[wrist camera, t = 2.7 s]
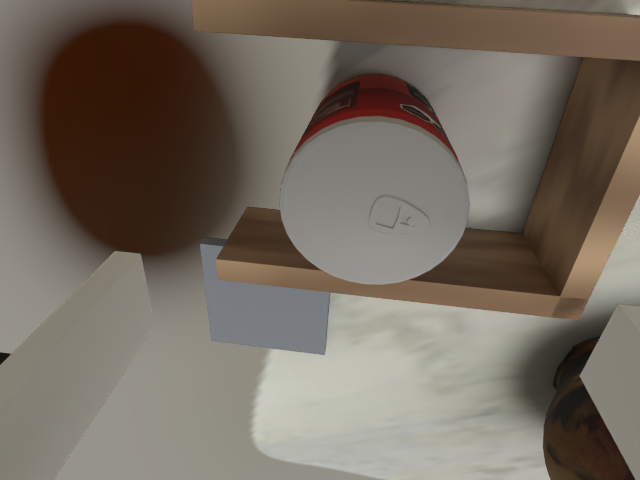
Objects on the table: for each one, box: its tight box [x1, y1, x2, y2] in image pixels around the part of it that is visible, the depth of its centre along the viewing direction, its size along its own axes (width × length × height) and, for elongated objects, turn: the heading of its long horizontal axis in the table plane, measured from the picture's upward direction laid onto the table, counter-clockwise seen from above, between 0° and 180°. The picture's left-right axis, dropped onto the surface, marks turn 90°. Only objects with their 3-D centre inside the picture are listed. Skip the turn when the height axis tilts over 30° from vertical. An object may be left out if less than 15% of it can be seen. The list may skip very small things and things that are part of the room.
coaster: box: [200, 237, 330, 355], centre depth 34 cm, size 10×10×1 cm
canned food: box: [279, 75, 470, 285], centre depth 22 cm, size 8×8×11 cm
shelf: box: [191, 0, 640, 320], centre depth 24 cm, size 15×21×7 cm
